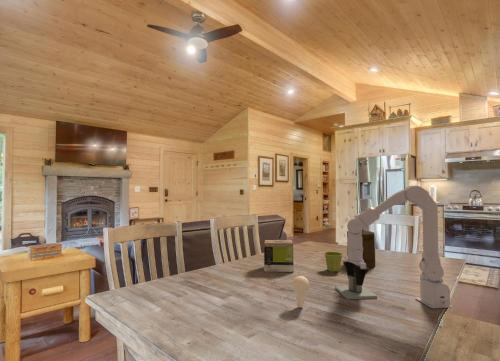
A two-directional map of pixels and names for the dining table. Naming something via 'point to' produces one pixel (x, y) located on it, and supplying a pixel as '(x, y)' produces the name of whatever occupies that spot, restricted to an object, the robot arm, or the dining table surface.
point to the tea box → (278, 256)
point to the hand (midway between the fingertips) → (355, 282)
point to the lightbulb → (300, 289)
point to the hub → (354, 284)
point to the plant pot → (333, 261)
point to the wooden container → (367, 248)
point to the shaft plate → (350, 295)
